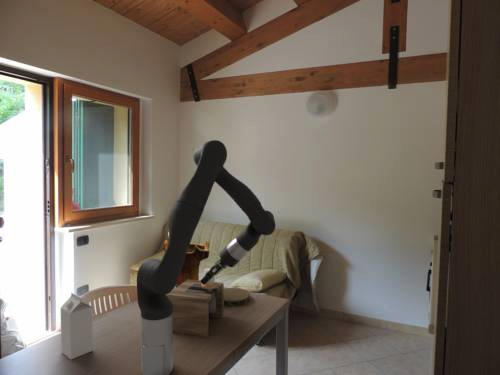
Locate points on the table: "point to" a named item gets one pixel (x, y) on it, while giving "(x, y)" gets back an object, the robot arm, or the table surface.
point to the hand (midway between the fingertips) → (204, 280)
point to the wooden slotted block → (195, 307)
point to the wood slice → (236, 297)
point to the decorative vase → (192, 261)
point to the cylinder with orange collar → (209, 286)
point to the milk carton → (76, 327)
